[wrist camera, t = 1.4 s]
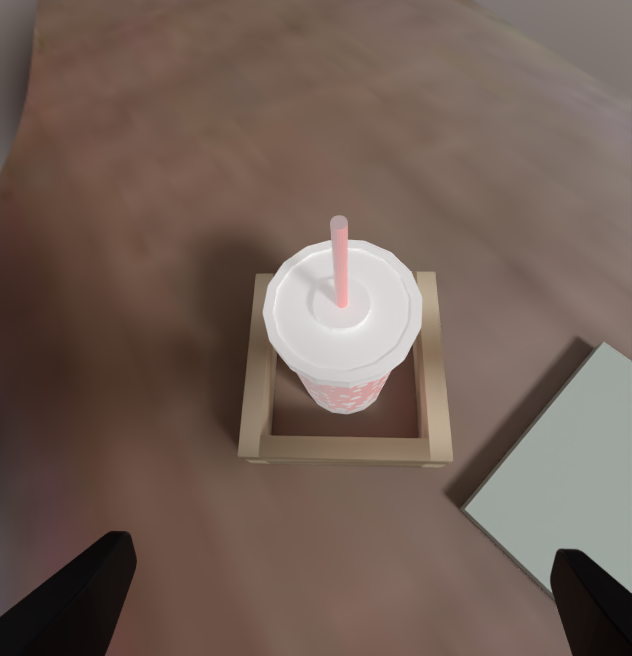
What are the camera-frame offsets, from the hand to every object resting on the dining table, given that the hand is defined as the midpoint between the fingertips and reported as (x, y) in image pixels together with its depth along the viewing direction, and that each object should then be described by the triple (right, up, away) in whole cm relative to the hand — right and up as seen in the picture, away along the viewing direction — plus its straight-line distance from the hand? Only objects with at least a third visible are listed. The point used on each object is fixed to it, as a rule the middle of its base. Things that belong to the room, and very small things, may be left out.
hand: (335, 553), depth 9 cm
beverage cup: (+1, +2, +16) cm, 16 cm away
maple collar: (+1, +2, +15) cm, 16 cm away
